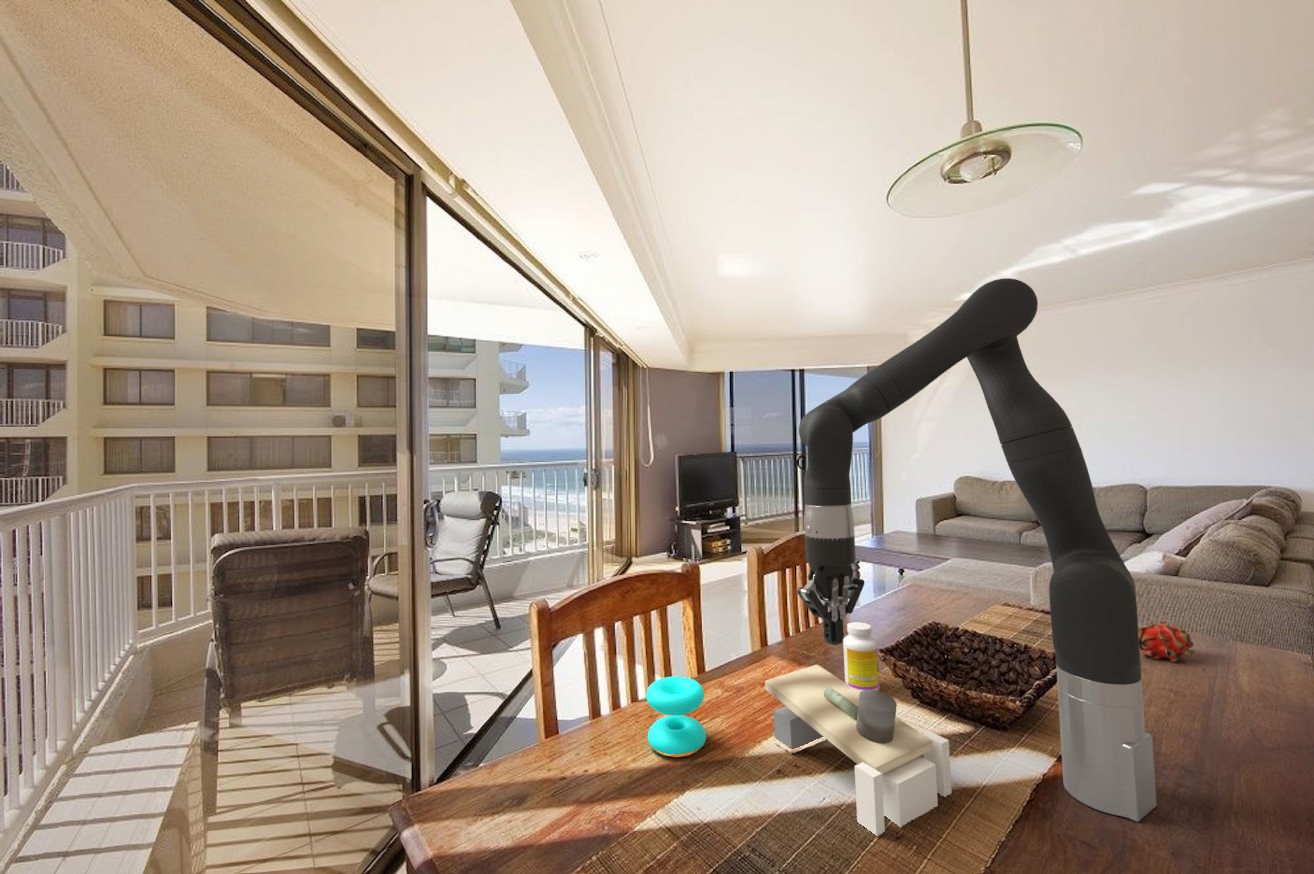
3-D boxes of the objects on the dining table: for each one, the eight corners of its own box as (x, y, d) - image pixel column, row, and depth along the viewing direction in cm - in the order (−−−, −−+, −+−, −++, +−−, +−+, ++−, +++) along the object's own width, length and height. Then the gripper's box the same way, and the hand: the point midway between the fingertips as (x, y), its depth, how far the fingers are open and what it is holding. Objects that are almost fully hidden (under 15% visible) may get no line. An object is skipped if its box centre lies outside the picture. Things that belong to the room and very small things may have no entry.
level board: (930, 750, 76) (935, 708, 75) (874, 777, 70) (879, 732, 70) (816, 671, 95) (819, 637, 94) (764, 688, 89) (767, 652, 89)
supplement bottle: (885, 695, 106) (881, 630, 107) (851, 696, 106) (848, 631, 107) (872, 680, 113) (869, 619, 113) (840, 681, 113) (837, 620, 114)
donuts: (692, 670, 98) (712, 693, 88) (694, 725, 97) (715, 754, 88) (639, 678, 95) (654, 703, 86) (642, 735, 95) (656, 766, 85)
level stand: (955, 795, 75) (952, 741, 76) (879, 839, 67) (876, 779, 68) (825, 723, 96) (823, 681, 96) (756, 750, 88) (754, 705, 89)
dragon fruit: (1197, 665, 118) (1146, 676, 118) (1162, 632, 125) (1113, 642, 125) (1215, 642, 113) (1162, 654, 113) (1177, 609, 120) (1127, 620, 120)
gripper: (816, 540, 78) (822, 660, 77) (877, 530, 84) (882, 641, 84) (781, 534, 84) (785, 644, 84) (839, 526, 91) (844, 628, 90)
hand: (834, 642), depth 84 cm, fingers closed
